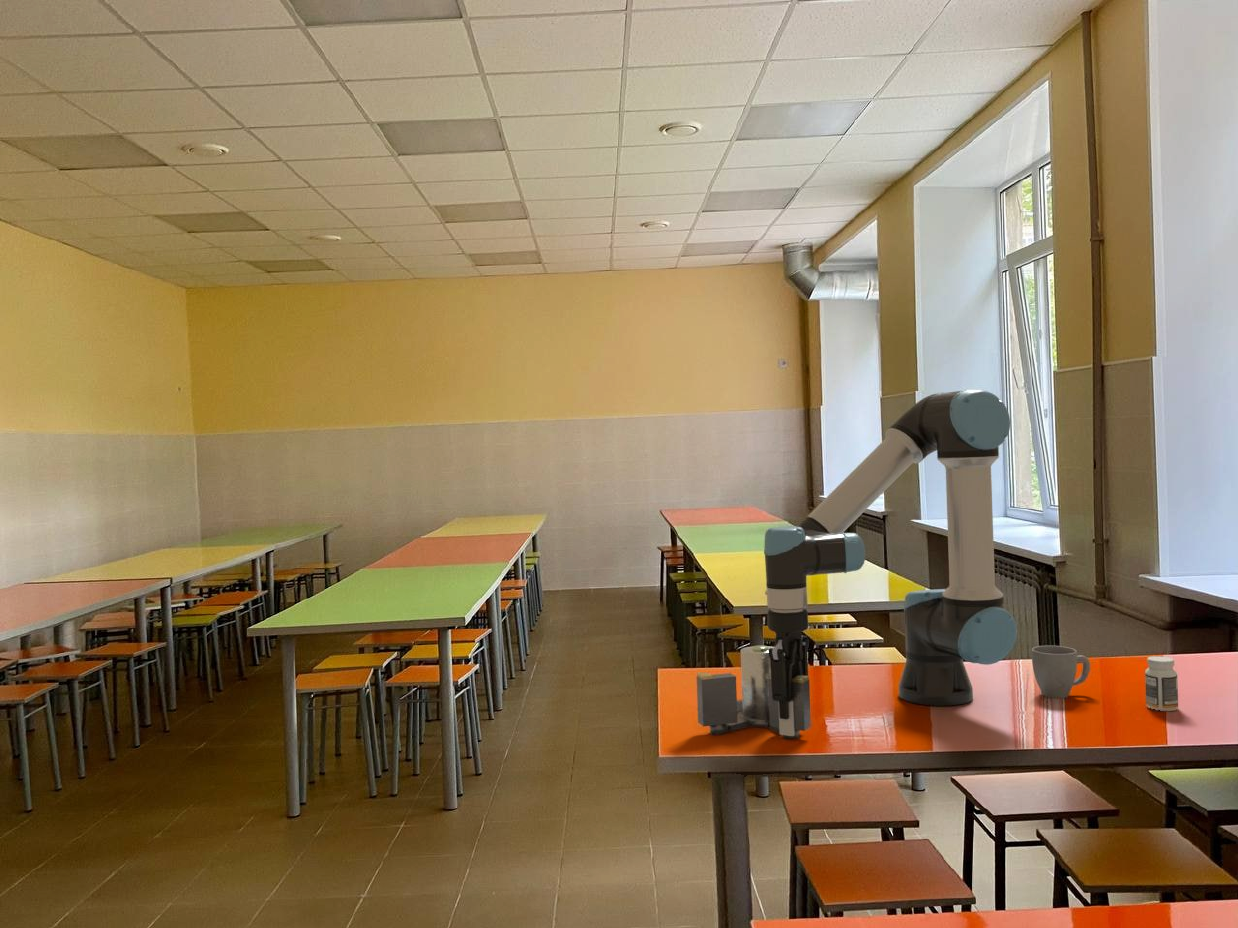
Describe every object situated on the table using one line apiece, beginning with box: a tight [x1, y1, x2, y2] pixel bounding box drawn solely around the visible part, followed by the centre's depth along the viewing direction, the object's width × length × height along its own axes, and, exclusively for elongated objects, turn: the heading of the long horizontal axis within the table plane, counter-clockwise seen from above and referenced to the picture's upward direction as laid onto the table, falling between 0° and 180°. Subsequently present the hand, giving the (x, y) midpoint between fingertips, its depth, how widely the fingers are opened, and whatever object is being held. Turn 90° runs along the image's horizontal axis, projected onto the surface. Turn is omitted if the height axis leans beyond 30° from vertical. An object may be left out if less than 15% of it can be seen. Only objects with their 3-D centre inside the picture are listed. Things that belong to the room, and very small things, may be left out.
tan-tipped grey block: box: [696, 672, 738, 736], centre depth 191 cm, size 7×3×12 cm, turn 104°
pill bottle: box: [1144, 656, 1179, 712], centre depth 197 cm, size 6×6×10 cm
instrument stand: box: [726, 645, 780, 735], centre depth 198 cm, size 13×16×15 cm
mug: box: [1031, 645, 1091, 699], centre depth 210 cm, size 12×9×10 cm
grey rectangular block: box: [768, 675, 812, 740], centre depth 187 cm, size 7×3×12 cm, turn 57°
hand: (792, 731), depth 187 cm, fingers open, 4 cm apart
